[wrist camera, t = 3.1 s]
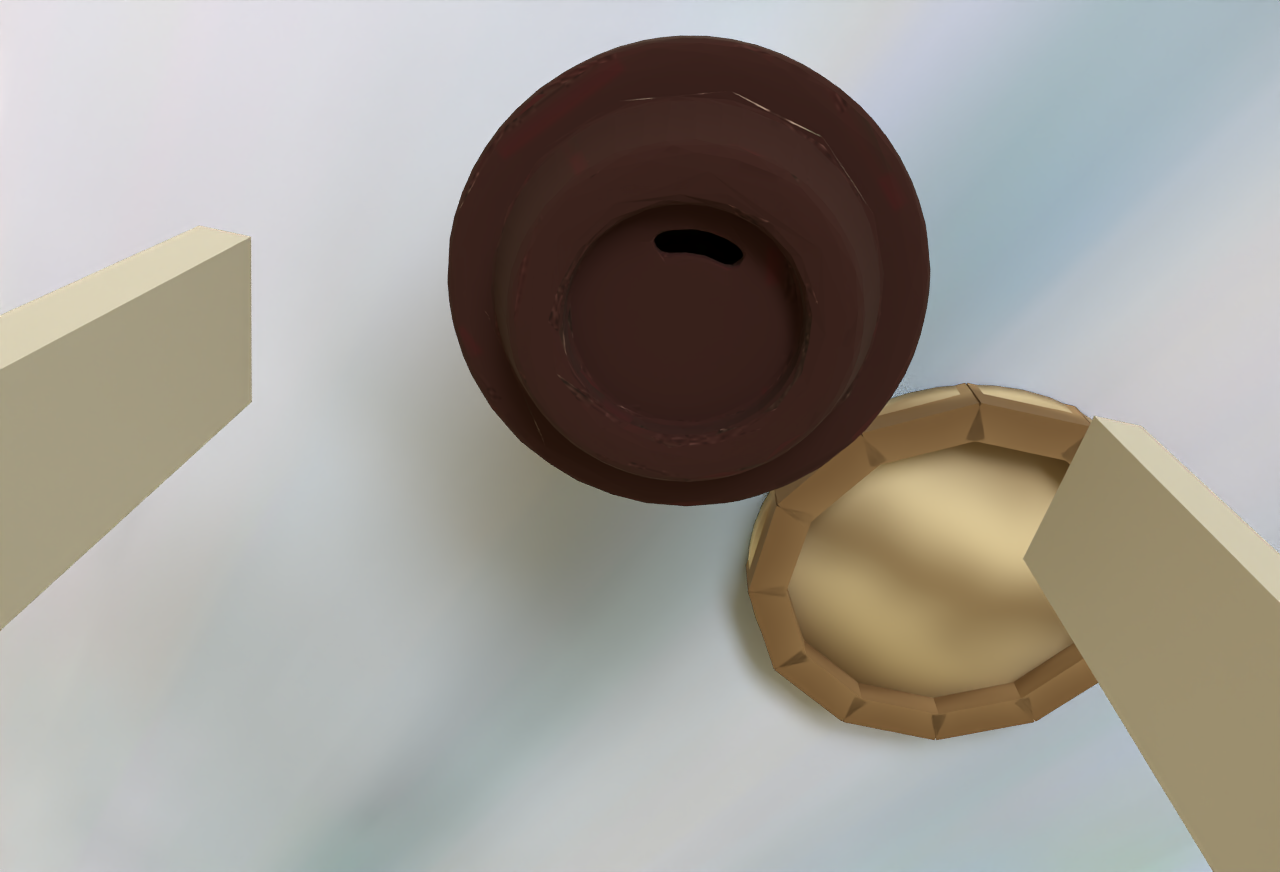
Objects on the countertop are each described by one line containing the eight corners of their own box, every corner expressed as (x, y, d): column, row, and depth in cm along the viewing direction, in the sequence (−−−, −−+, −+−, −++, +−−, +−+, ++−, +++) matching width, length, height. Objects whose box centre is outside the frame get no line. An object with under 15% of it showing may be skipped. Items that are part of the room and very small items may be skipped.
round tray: (811, 344, 32) (818, 362, 30) (1229, 434, 33) (1256, 456, 31) (707, 670, 39) (708, 698, 38) (1049, 738, 40) (1063, 769, 38)
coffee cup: (687, 369, 33) (680, 624, 19) (489, 181, 30) (321, 327, 17) (895, 180, 29) (1064, 333, 16) (692, -53, 26) (687, -107, 13)
